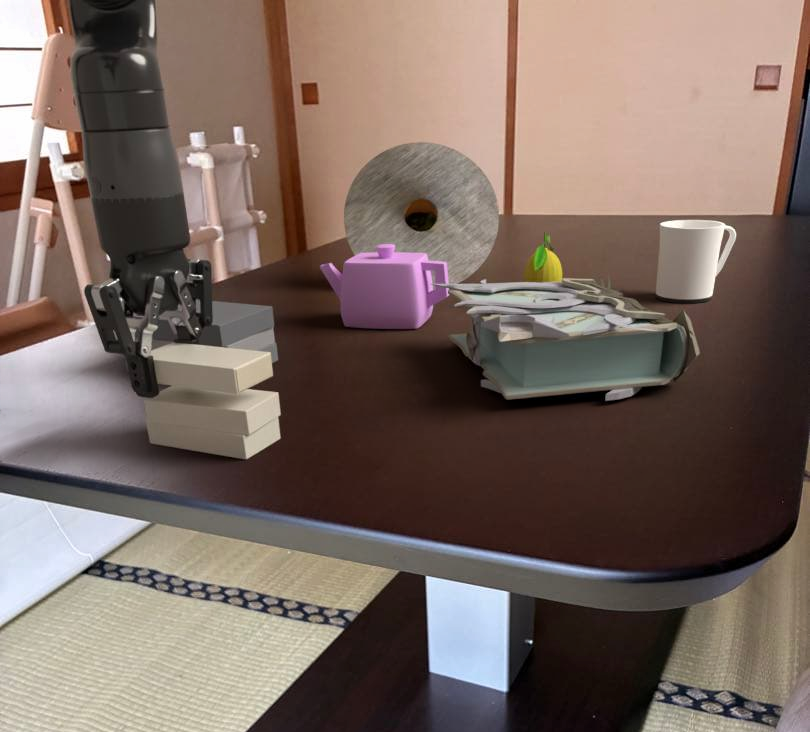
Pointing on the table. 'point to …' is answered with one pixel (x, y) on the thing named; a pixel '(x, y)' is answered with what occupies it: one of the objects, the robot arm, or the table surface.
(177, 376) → the cream rectangular block
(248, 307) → the grey stack
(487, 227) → the disc
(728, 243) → the mug
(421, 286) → the teapot
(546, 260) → the lemon
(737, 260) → the table surface
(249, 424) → the cream lidded box
